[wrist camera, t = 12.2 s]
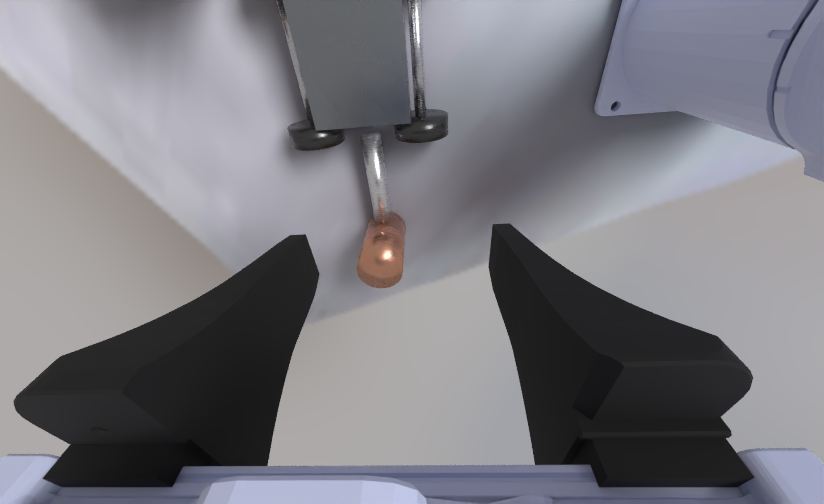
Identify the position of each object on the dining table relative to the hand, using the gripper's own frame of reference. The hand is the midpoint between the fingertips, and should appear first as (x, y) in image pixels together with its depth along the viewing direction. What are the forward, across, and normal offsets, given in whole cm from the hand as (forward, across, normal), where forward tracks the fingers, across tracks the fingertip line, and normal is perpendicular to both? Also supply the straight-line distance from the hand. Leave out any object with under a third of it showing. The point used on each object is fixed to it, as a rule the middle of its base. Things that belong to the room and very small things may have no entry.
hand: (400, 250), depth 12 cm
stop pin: (+10, +2, +2) cm, 10 cm away
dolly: (+10, +2, -6) cm, 12 cm away
